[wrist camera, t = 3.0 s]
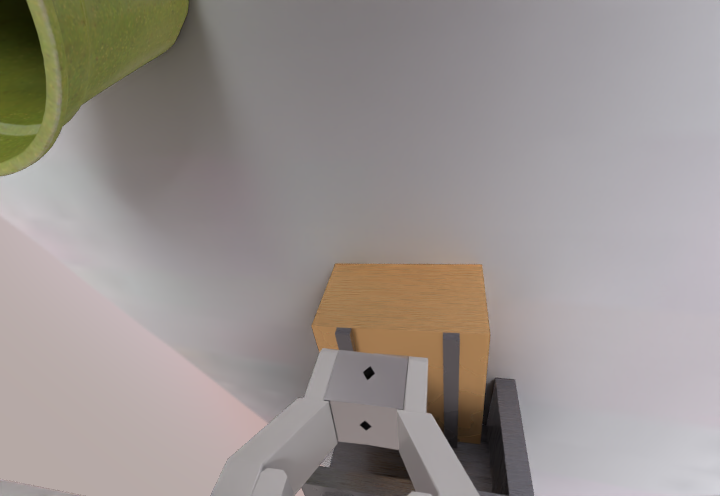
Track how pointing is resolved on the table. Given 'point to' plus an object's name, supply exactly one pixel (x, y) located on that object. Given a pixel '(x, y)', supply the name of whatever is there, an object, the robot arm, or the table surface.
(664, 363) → the table surface
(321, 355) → the robot arm
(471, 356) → the block
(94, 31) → the plant pot
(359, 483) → the bracket
